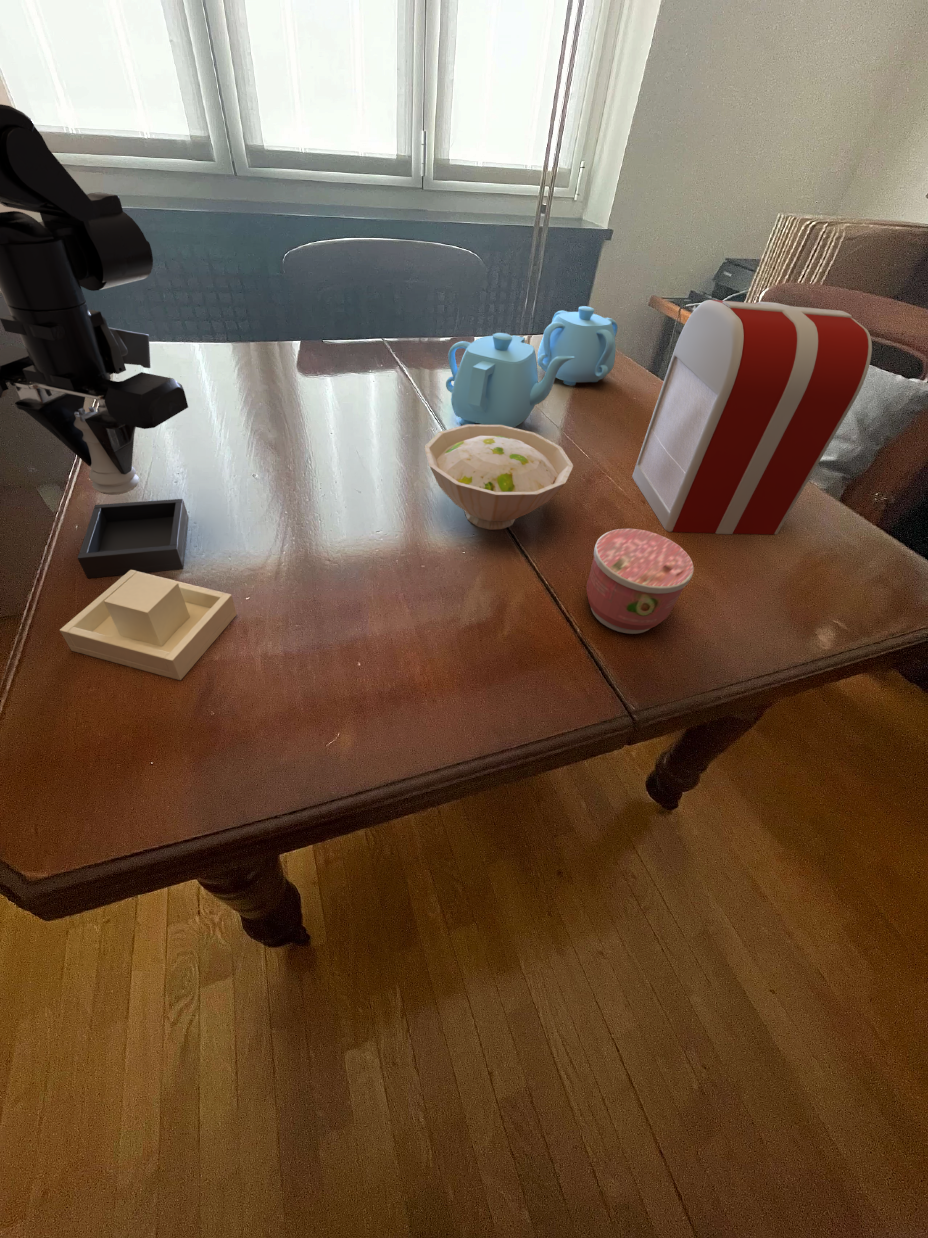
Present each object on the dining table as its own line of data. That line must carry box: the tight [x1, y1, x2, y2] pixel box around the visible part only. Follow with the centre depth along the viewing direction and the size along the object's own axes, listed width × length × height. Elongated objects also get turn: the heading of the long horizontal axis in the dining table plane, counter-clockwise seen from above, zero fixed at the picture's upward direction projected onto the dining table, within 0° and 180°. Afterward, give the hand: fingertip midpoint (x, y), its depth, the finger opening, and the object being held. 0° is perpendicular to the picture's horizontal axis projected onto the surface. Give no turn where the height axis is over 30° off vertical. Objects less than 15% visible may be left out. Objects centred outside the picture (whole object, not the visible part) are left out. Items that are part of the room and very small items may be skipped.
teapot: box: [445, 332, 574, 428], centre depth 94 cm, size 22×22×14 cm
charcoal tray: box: [77, 498, 190, 579], centre depth 63 cm, size 11×10×3 cm
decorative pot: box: [536, 305, 619, 386], centre depth 115 cm, size 16×16×14 cm
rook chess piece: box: [74, 406, 140, 496], centre depth 56 cm, size 4×4×8 cm
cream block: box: [104, 573, 190, 647], centre depth 53 cm, size 4×4×4 cm
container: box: [585, 528, 695, 635], centre depth 61 cm, size 10×10×8 cm
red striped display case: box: [631, 299, 873, 535], centre depth 75 cm, size 16×18×27 cm
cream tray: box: [59, 570, 238, 681], centre depth 54 cm, size 12×10×3 cm
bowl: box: [424, 423, 574, 531], centre depth 73 cm, size 19×19×10 cm
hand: (110, 468), depth 57 cm, fingers closed on rook chess piece, 3 cm apart
